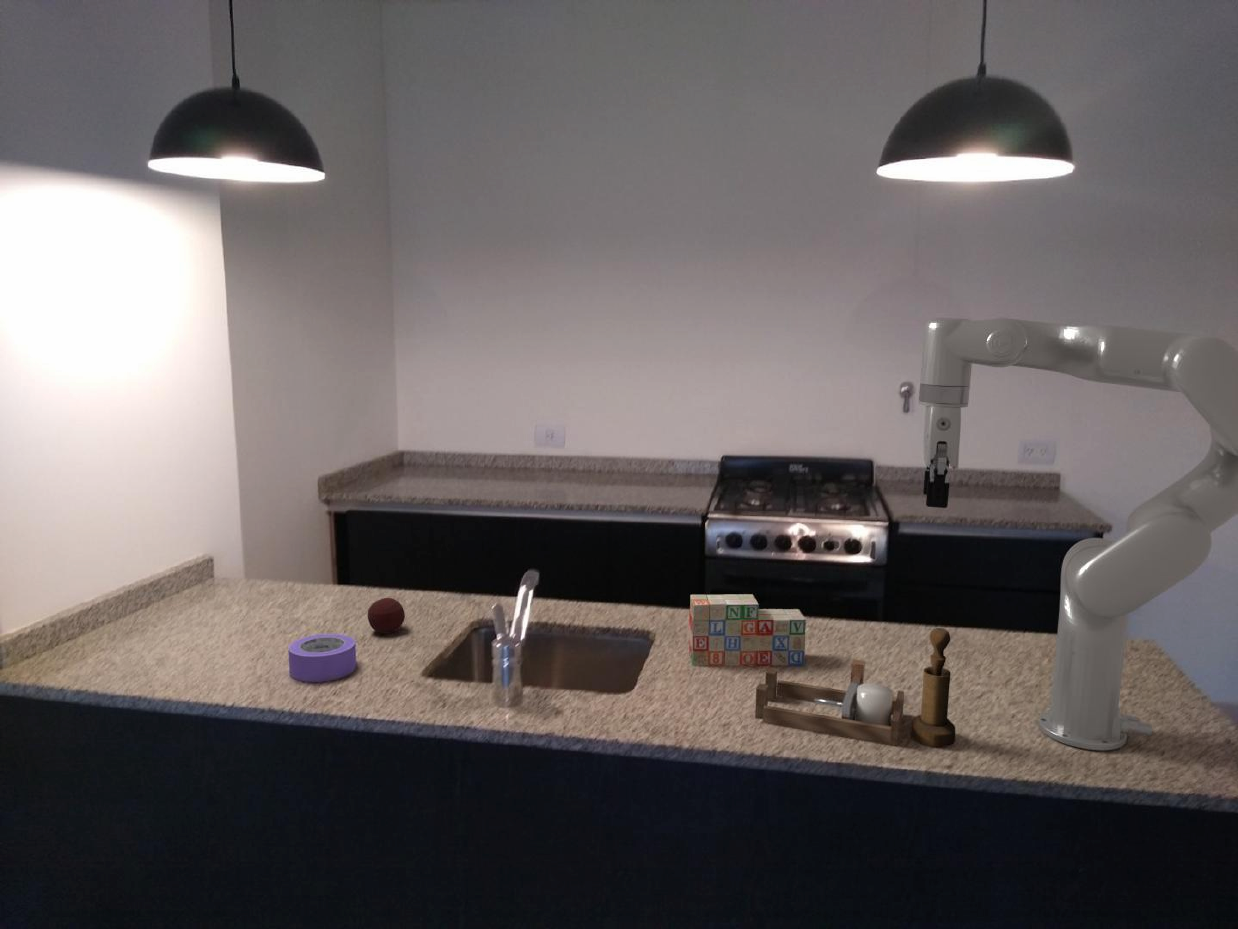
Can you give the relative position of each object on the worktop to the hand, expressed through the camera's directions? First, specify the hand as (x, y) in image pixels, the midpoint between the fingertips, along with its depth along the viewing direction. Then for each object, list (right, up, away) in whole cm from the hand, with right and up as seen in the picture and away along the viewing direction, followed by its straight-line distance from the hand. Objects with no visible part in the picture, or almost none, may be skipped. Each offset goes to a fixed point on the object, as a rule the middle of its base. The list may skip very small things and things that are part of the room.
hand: (934, 500), depth 146 cm
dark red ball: (-99, -29, +39) cm, 111 cm away
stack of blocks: (-27, -32, +26) cm, 49 cm away
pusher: (-15, -35, +5) cm, 38 cm away
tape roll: (-106, -32, +20) cm, 113 cm away
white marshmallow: (-10, -36, -1) cm, 38 cm away
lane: (-17, -36, +2) cm, 40 cm away
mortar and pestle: (-2, -37, -5) cm, 38 cm away
